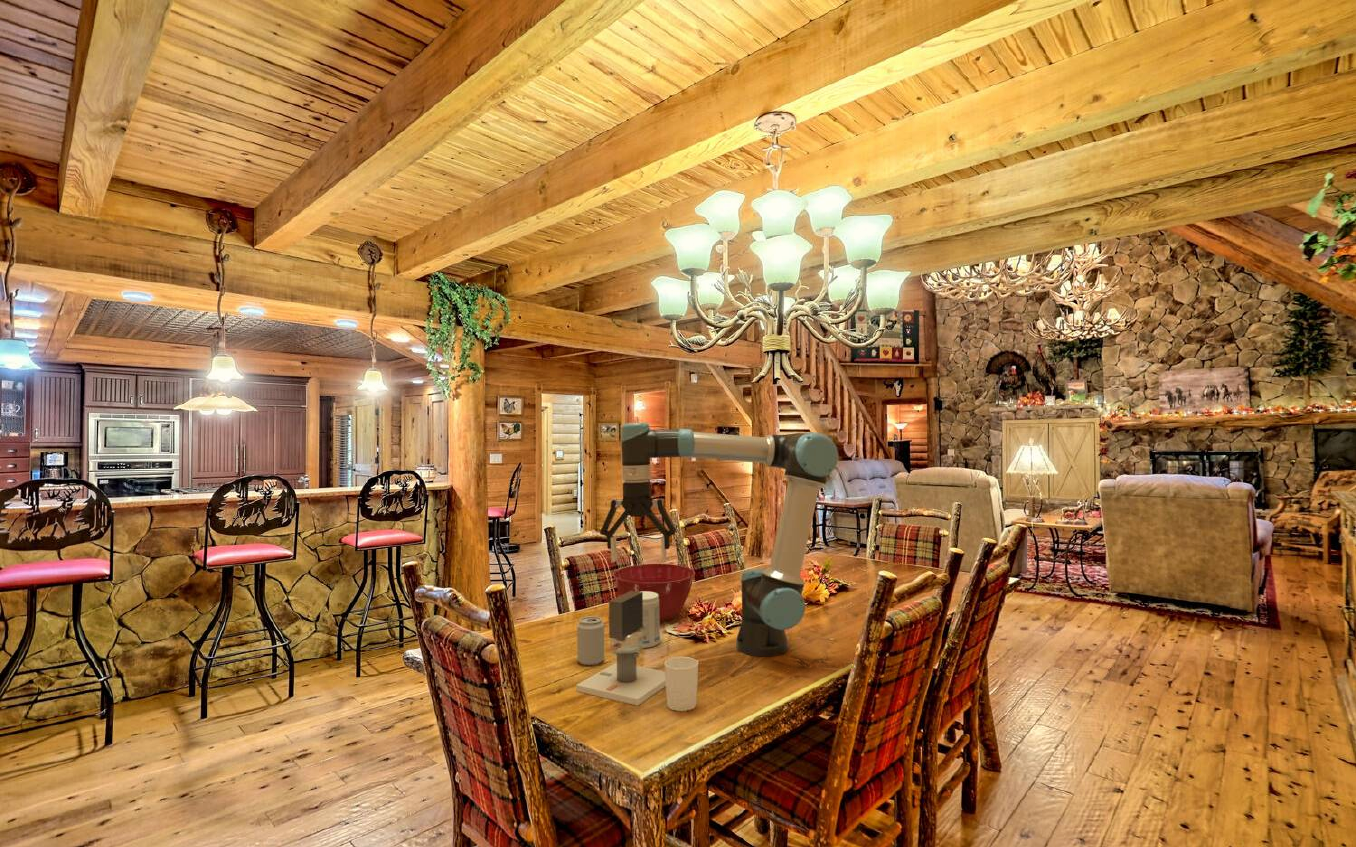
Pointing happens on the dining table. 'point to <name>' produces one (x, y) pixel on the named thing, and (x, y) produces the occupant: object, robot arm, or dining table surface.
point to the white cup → (681, 683)
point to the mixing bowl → (658, 584)
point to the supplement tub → (650, 620)
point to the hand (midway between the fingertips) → (639, 561)
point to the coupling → (626, 622)
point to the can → (590, 640)
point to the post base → (624, 689)
